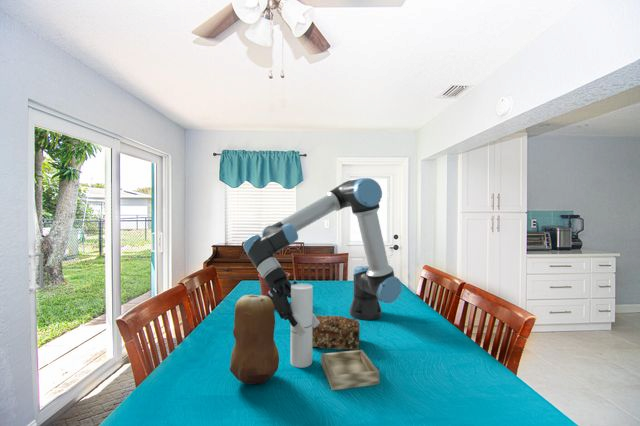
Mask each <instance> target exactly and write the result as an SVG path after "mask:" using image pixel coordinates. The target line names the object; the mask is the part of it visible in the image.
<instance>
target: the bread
mask: <svg viewBox="0 0 640 426" xmlns="http://www.w3.org/2000/svg"><path fill="white" fill-rule="evenodd" d="M315 316H316V318H317V319H318V321H319V322H320V324H318V325H317V326H316V327H315V328H314V327H313V326H312V348H314V347H318V348H320V349H331V350H347V351H355V350H359V348H360V347H359V346H360V334H361V333H360V329H361V328H360V322H359V321H358V320H357V318H350V317H344V316H341V315H340V316H339V315H324V316H323V315H320V314H318V315H315Z"/></svg>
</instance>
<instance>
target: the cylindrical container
mask: <svg viewBox="0 0 640 426" xmlns="http://www.w3.org/2000/svg"><path fill="white" fill-rule="evenodd" d="M313 288H314V286H313V285H312V284H310V283H297V284H294V285H292V286H291V293H290V294H291V298H290V308H291V311H292V315H293V314H295V315H296V316H297V317H298V319H299V320H300V322H301V323H302V325H303V326H304V328H305V329H306V332H305V333H304V334H303V335H302V336H299V334H298V333H297V331H296V329H295V328H294V327H293V326H292V325H291V324H290V364H291V366H293V367H294V368H300V369H302V368H306V367H307V368H308V367H310V366H311V365H312V363H313V347H312V320H313V313H314V311H313V310H314V307H313V306H314V305H313V301H314V300H313V296H314V295H313V293H314V289H313Z"/></svg>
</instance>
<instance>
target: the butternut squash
mask: <svg viewBox="0 0 640 426" xmlns="http://www.w3.org/2000/svg"><path fill="white" fill-rule="evenodd" d="M233 325H234V326H233V329H232V334H233V337H234V345H233V349H232V352H231V356H230V366H229V371H230V373H231V374H232V375H233V376H234V378H235V379H236V380H238V381H239V382H241V383H243V384H244V385H245V384H246V385H248V384H250V385H252V384H253V385H256V386H257V385H261V384H264V383H265V382H266V381H268V380H269V379H270V378H271V377H273V376H274V375H275V374H276V372H277V371H278V369H279V366H280V365H279V364H280V354H279V350H278V347H277V345H276V343H275V338H274V337H275V328H276V315H275V308H274V305H273V302H272V300H271V299H270V298H269V297H267V296H263V295H261V294H260V295H259V294H257V295H256V294H252V293H251V294H244V295H243V296H241V297H240V298H239V299H238V300H237V301H236V304H235V306H234V320H233Z"/></svg>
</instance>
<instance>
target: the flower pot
mask: <svg viewBox="0 0 640 426" xmlns="http://www.w3.org/2000/svg"><path fill="white" fill-rule="evenodd" d="M285 273H286V274H287V280H288V281H290V280H289V278H290V275H291V274H290V272H286V271H285ZM257 277H258V278H259V279H258V280H259V284H260V295H263V296H267V297H269V296H268V295H267V293H268V292H269V291H270V290H271V288H269V287H268V286H267V284H266V283H265V281H264V279H263V278H262V276H261V275H260V273H258V275H257ZM269 298H270V297H269ZM273 305H274V304H273ZM274 309H276V308H275V306H274Z"/></svg>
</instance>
